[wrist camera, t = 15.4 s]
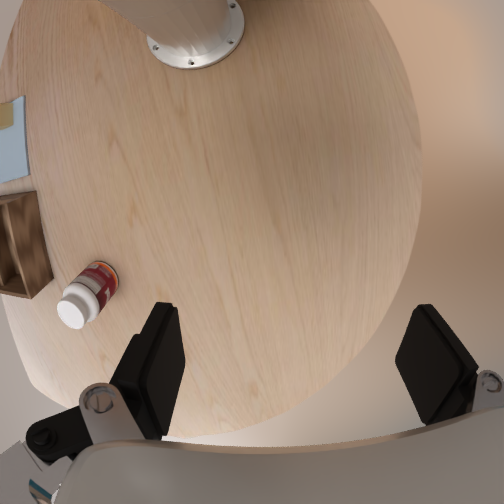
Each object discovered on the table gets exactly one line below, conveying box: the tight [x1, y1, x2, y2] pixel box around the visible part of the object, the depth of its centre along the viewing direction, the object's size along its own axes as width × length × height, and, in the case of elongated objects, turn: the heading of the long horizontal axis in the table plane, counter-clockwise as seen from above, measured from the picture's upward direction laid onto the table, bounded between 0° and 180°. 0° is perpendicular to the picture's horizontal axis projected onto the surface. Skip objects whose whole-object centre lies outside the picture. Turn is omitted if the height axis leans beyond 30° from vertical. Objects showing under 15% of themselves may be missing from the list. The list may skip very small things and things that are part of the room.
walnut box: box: [0, 191, 54, 299], centre depth 36 cm, size 16×11×7 cm
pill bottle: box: [57, 262, 118, 329], centre depth 37 cm, size 6×6×11 cm
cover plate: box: [0, 96, 30, 183], centre depth 31 cm, size 14×9×5 cm, turn 2°
